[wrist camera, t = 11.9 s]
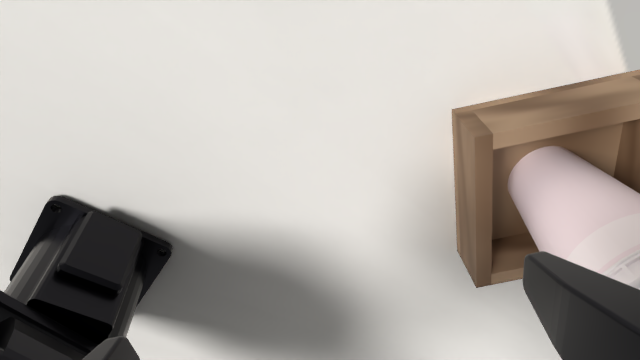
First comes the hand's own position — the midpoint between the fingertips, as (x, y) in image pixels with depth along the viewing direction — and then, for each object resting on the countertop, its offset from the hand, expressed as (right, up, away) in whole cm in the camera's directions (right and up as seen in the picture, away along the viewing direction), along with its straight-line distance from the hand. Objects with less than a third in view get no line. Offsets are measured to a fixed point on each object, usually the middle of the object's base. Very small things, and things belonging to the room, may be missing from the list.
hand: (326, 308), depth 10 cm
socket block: (+12, +3, +15) cm, 19 cm away
